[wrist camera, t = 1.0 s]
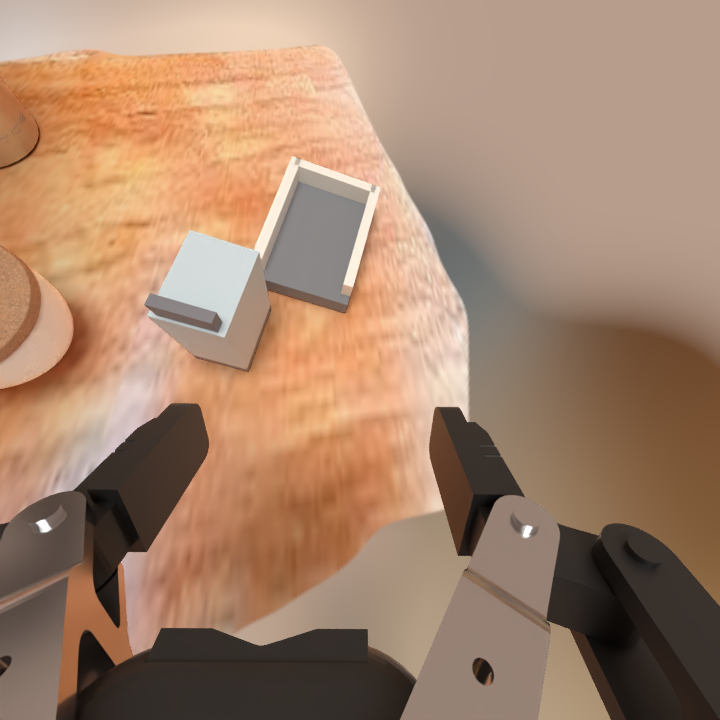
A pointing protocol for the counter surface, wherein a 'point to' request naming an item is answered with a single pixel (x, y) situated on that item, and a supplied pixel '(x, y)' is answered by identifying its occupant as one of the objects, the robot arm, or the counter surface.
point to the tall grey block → (214, 301)
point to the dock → (315, 247)
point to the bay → (330, 183)
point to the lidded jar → (29, 322)
